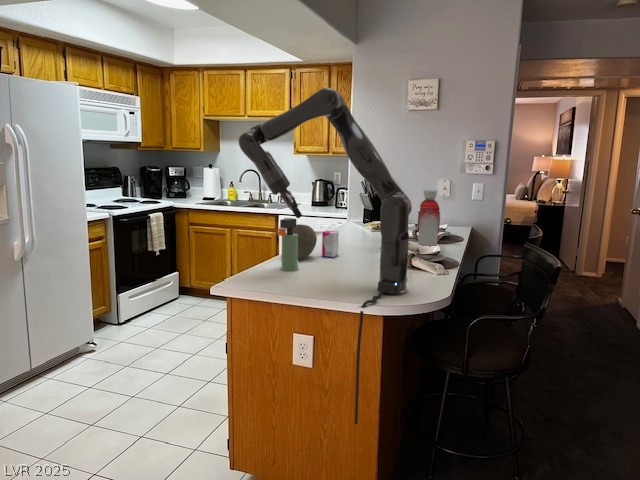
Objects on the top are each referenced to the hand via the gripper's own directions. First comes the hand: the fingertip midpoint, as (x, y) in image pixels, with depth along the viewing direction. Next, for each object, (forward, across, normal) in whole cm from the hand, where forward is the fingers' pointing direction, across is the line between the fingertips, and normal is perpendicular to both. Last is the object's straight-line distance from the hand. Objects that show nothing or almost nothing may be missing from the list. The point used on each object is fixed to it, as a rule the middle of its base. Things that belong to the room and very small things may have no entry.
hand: (299, 216), depth 185 cm
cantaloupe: (+23, +25, +6) cm, 34 cm away
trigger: (+3, +4, +9) cm, 11 cm away
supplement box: (+30, +26, -5) cm, 40 cm away
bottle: (+57, +25, -46) cm, 78 cm away
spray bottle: (+17, +7, +14) cm, 23 cm away
